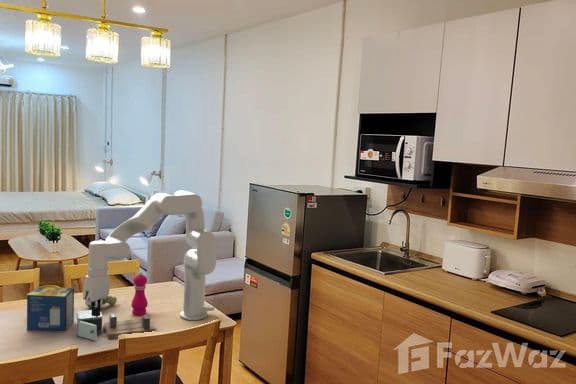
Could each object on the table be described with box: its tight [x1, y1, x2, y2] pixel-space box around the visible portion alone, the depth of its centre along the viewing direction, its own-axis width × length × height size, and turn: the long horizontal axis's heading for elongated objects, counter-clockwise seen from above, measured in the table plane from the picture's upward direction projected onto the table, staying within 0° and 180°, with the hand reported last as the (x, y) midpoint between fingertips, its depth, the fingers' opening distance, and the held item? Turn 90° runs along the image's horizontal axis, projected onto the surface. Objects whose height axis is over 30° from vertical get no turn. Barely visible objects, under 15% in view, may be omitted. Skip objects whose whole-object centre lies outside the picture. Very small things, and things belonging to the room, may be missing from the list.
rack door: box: [76, 319, 98, 341], centre depth 190 cm, size 10×2×6 cm, turn 67°
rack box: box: [76, 309, 103, 334], centre depth 199 cm, size 9×9×7 cm
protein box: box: [26, 286, 75, 333], centre depth 199 cm, size 10×15×16 cm
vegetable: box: [85, 295, 118, 308], centre depth 225 cm, size 12×13×15 cm
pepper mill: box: [130, 271, 149, 317], centre depth 220 cm, size 7×7×20 cm
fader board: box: [103, 314, 157, 340], centre depth 201 cm, size 19×13×6 cm
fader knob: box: [108, 313, 118, 328], centre depth 200 cm, size 2×4×4 cm, turn 27°
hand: (95, 315), depth 192 cm, fingers closed
